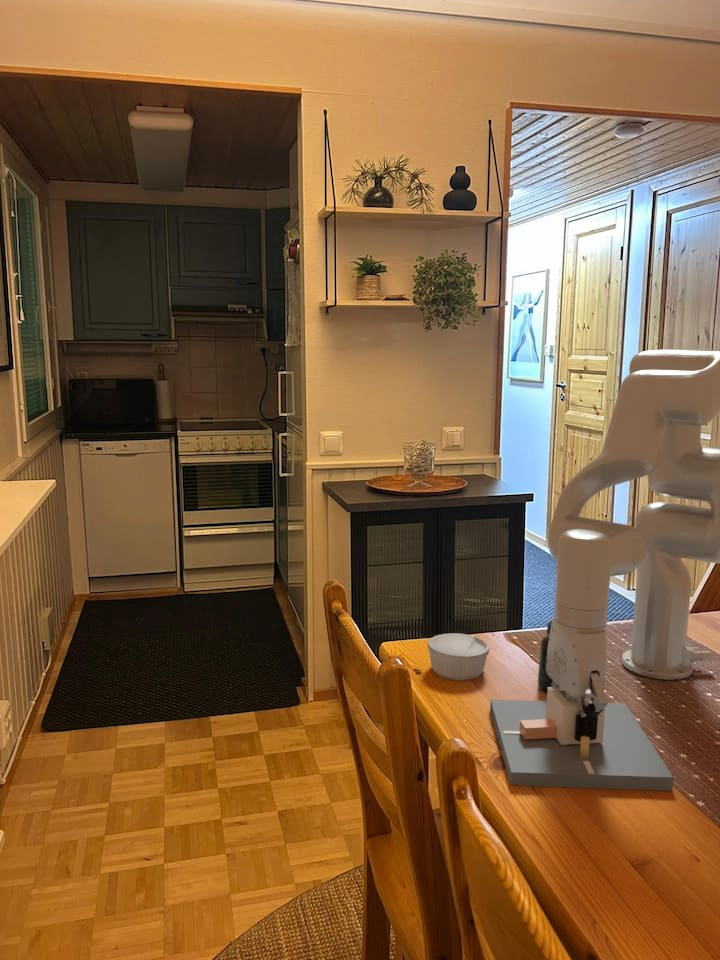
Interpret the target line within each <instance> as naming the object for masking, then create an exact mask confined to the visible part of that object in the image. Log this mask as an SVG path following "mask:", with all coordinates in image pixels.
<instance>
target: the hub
mask: <svg viewBox="0 0 720 960" xmlns="http://www.w3.org/2000/svg"><path fill="white" fill-rule="evenodd" d="M585 693H586V694H589V693H591V690H589V689H588V690H586V692H585ZM565 695H566V692H565V691H564V690H563V689H562V688H561V687H548V689H547V695H546V701H547V706H546V719H538V720H520V733H521V734H522V736H523V738H524V739H543V738H556V739H557V740H558V741H559V743H560V744H561V745H565V744H581V741H577V740H576V739H575V726H576V714H579V709H578V702H568V701H567V700H566V698H565ZM591 703H592V702H591V698H586V701H585V707H586V706H587V705H589V704H591ZM604 719H605V708H604V709H603V711H602V712H601V713H600V716H598V723H597V736H596V739H595V740H590V742H589V743H603V732H604Z"/></svg>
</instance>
